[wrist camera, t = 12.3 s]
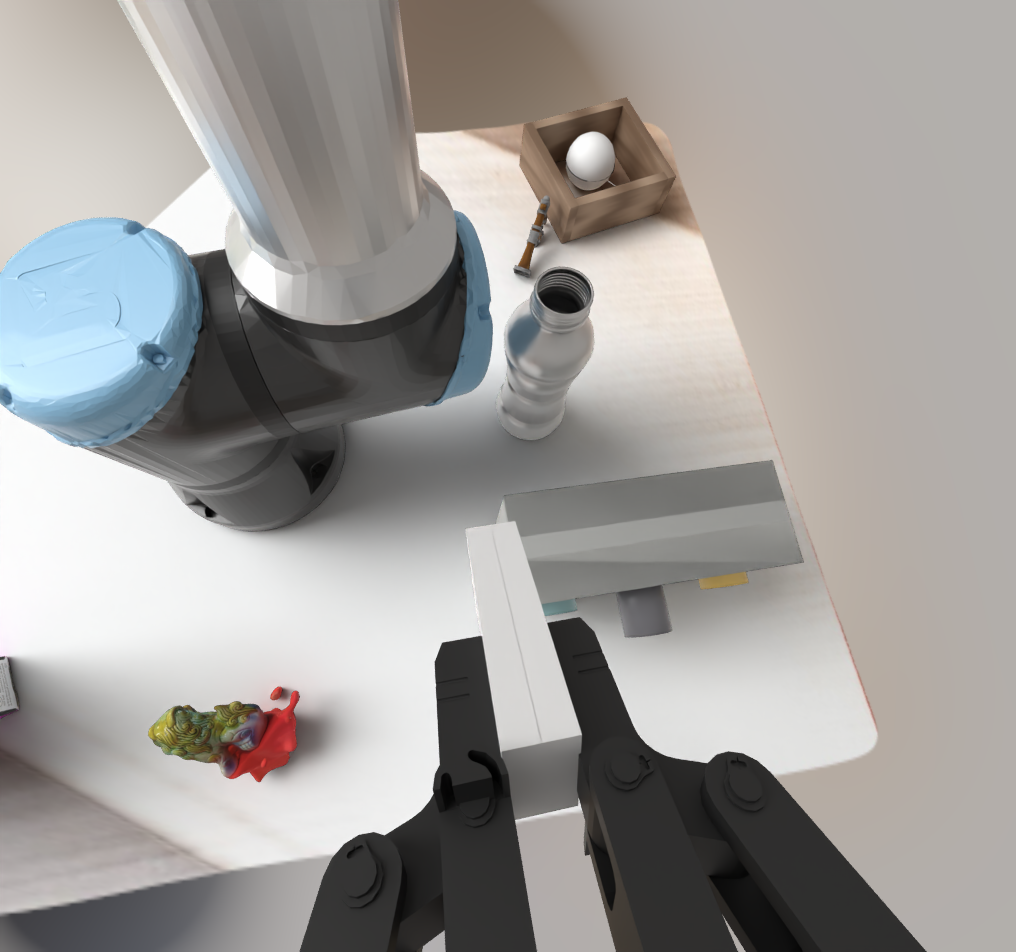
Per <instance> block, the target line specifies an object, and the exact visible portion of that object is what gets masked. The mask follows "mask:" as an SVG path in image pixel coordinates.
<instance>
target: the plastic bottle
mask: <svg viewBox="0 0 1016 952" xmlns="http://www.w3.org/2000/svg"><path fill="white" fill-rule="evenodd" d="M593 296H594V291H593V287H592V284H591V282H590V281H589V279H588V278H587V277H586V276H585V275H584V274H582V273H581V272H579V271H578V270H575V269H573V268H569V267H554V268H551V269H548V270H547V271H545V272H543V273H542V274H541V275H540V276H539V278H538V279H537V281H536V283H535V286H534V291H533V292H532V294H531V297H530V299H528V300H527V301H525V302H523V303H522V304H521V305H519V306H518V307H517V308H516V310H515V311H514V312H513V314H512V315H511V316H510V318H509V319H508V322H507V324H506V326H505V331H504V347H505V353H506V360H507V375H506V379H505V382H504V384H503V385H502V387H501V389H500V392H499V394H498V396H497V400H496V411H497V414H498V418H499V421H500V422H501V424H502V426H503V427H504V428H505V430H506V431H507V432H509V433H510V434H511V435H513V436H515V437H517V438H520V439H524V440H537V439H541V438H543V437H546V436H547V435H549V434H550V433H552V432H553V431H554V430H555V429H556V428H557V427H558V426H559V424H560V423H561V421H562V419H563V416H564V412H565V404H566V402H565V399H566V394H567V391H568V389H569V387H570V385H571V383H572V382H573V380H574V379H575V378H576V377H577V375H578V374H579V373H580V372H581V370H582V369H583V368H584V367H585V365H586V364H587V362H588V360H589V359H590V357H591V355H592V352H593V349H594V331H593V326H592V323H591V320H590V319H589V317H588V315H589V313H590V307H591V304H592V302H593Z"/></svg>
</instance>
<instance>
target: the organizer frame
mask: <svg viewBox="0 0 1016 952" xmlns="http://www.w3.org/2000/svg"><path fill="white" fill-rule="evenodd" d="M588 132H599V133H601V134H603V135H605V136H606V137H607V138H608V139H609V140H610V142H611V143H612V145H613V148H614V153H615V155H616V157H617V159H618V160H619V162H620V164H621V165H622V167H623V169H624V170H625V172H626V174H627V175H628V177H629V179H630V180H631V182H628V183H625V184H621V185H618V186H615V187H611V188H608V189H605V190H601V191H598V192H595V193H591V194H588V195H585V196H581V197H578V198H574V196H573V194H572V192H571V190H570V189H569V187H568V185H567V183H566V182H565V180H564V178H563V176H562V174H561V173H560V171H559V169H558V167H557V166H556V164H555V162H558V161H562V160H565V159H566V158H567V153H568V151H569V148H570V146H571V145H572V143H573V142H574V141H575V140H576V139H577V138H578V137H579V136H581V135H582V134H585V133H588ZM519 165H520V167H521V169H522V171H523V173H524V175H525V176H526V178H527V180H528V182H529V184H530V186H531V188H532V189H533V191H534V193H535V195H536V197H537V199H538V201H539V202H540V203H541V199H543V198H544V196H546V195H547V196H549V198H550V201H549V202H550V206H549V208H548V211H547V215H548V219H549V221H550V223H551V225H552V226H553V228H554V230H555V232H556V234H557V236H558V238H559V239H560V241H561V243H565V242H568V241H571V240H574V239H578V238H581V237H584V236H587V235H590V234H593V233H597V232H600V231H603V230H606V229H609V228H612V227H616V226H619V225H622V224H625V223H628V222H631V221H635V220H638V219H641V218H644V217H647V216H650V215H654V214H657V213H659V211H660V209H661V207H662V205H663V203H664V201H665V199H666V197H667V194H668V192H669V190H670V188H671V186H672V184H673V182H674V180H675V178H676V175H675V174H674V172H673V170H672V169H671V167H670V166H669V164H668V162H667V161H666V159H665V158H664V156H663V155H662V153H661V151H660V150H659V148H658V147H657V145H656V143H655V142H654V140H653V139H652V137H651V135H650V134H649V132H648V131H647V129H646V128H645V126H644V124H643V123H642V121H641V120H640V118H639V116H638V115H637V113H636V112H635V110H634V109H633V107H632V105H631V104H630V102H629V101H628V99H627V98H623V99H619V100H615V101H611V102H607V103H604V104H600V105H596V106H592V107H588V108H584V109H581V110H577V111H573V112H569V113H565V114H561V115H558V116H554V117H550V118H546V119H542V120H539V121H535V122H531V123H527V124H524V128H523V137H522V146H521V155H520V164H519Z"/></svg>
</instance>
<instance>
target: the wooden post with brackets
mask: <svg viewBox="0 0 1016 952" xmlns="http://www.w3.org/2000/svg"><path fill="white" fill-rule="evenodd" d="M549 201H550V198H549V196H547V195H546V196H544V198H543V199H541V203H540V206H539V209H538V211H537V218H536V220H535V223H534V225H533V224H532V230H530V235H529V238H528V240H527V246H526V249H525V252H524V254H523V256H522V259H521V261H520V263H519V265H518V266H517V265H515V267H514V268H513V269H514V273H518V274H521V275H524V276H527V277H530V275H531V272H530V270H529V266H530V262H531V257H532V253H533V250H534V247H536V246H537V245H538V244H540V239H541V236H542V235H543V231H542V229H543V226H542V225H543V224H546V221H547V218H548V215H547V211H548V208H549V206H550V202H549Z"/></svg>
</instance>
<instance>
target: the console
mask: <svg viewBox="0 0 1016 952" xmlns="http://www.w3.org/2000/svg"><path fill="white" fill-rule="evenodd" d="M512 521H515V522H516V526H517V529H518V532H519V535H520V538H521V541H522V545H523V548H524V551H525V554H526V557H527V561H528V564H529V567H530V570H531V573H532V577H533V580H534V583H535V586H536V589H537V593H538V596H539V599H540V602H541V604H546V603H552V602H558V601H564V600H571V599H577V598H583V597H589V596H596V595H602V594H608V593H615V592H621V591H627V590H633V589H640V588H646V587H652V586H658V585H665V584H671V583H677V582H684V581H690V580H696V579H702V578H709V577H715V576H721V575H727V574H734V573H740V572H746V571H753V570H759V569H765V568H771V567H778V566H784V565H790V564H796V563H803V562H804V561H803V558H802V555H801V551H800V548H799V545H798V542H797V538H796V535H795V532H794V529H793V525H792V522H791V519H790V516H789V512H788V509H787V506H786V503H785V499H784V496H783V493H782V490H781V486H780V483H779V480H778V477H777V473H776V470H775V467H774V464H773V460H770V461H762V462H754V463H747V464H739V465H732V466H724V467H716V468H709V469H701V470H694V471H686V472H678V473H671V474H663V475H656V476H648V477H640V478H633V479H625V480H617V481H610V482H602V483H595V484H587V485H579V486H572V487H564V488H557V489H549V490H541V491H534V492H526V493H519V494H511V495H504V498H503V501H502V504H501V507H500V511H499V514H498V517H497V520H496V524H499V523H505V522H512Z"/></svg>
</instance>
